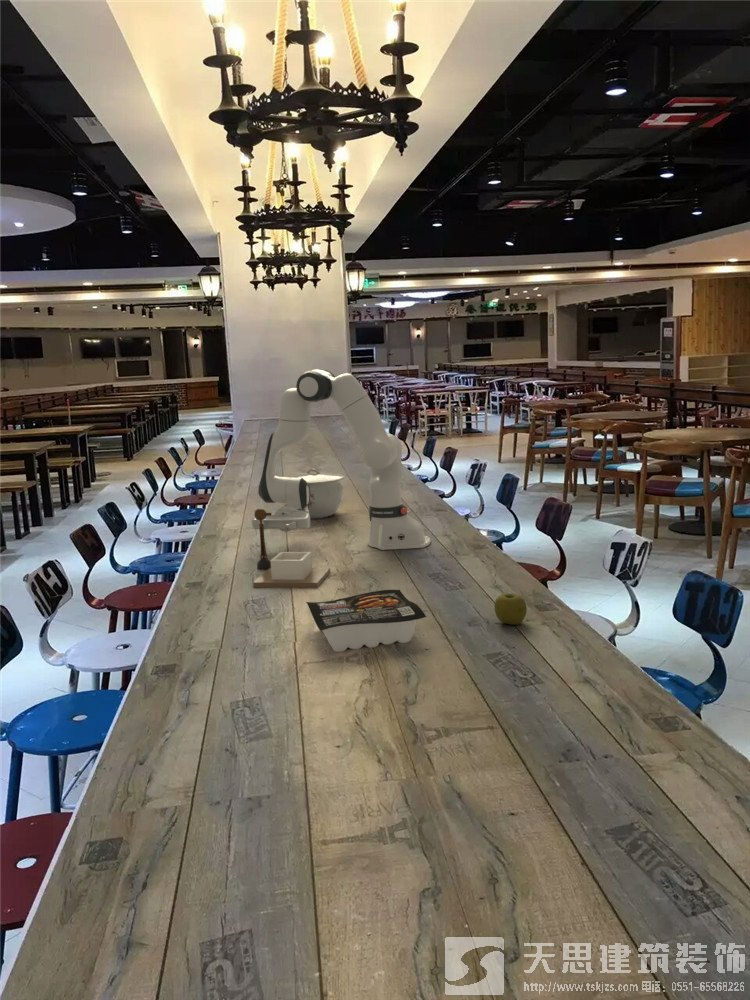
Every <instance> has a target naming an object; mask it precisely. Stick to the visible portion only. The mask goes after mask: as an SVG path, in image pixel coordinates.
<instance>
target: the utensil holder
mask: <svg viewBox="0 0 750 1000" xmlns="http://www.w3.org/2000/svg"><path fill="white" fill-rule="evenodd" d="M270 562H271V568H269V569H268V570H265V571H264V572H263V573H262V574H261V575H260V576H259V577H257V578H256V579H255V580H254V581H253V582H252V585H253V588H295V589H296V588H298V589H299V588H301V589H303V588H311V589H313V588H315V589H318V588H319V587H320V586H321V584H322V583H323V582H324V581H325V580H326V579H327V577H328V576H329V575H330V574H331V567H313V561H312V552H311V551H280V552H278V553H277V555H275V556H273V558H272V559H271V560H270Z"/></svg>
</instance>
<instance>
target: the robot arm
mask: <svg viewBox="0 0 750 1000" xmlns="http://www.w3.org/2000/svg"><path fill="white" fill-rule="evenodd" d="M329 399H330V400H332V401H334V403H335V404H336V406H337V407H338V409H339V410H340V412H341V414H342V415H343V417H344V419H345V421H346V423H347V424H348V425H349V427H350V429H351V431H352V433H353V435H354V436H355V439H356V443H357V445H358V448H359V449H360V451H361V454H362V456H363V457H362V458H363V460H364V462H365V464H366V465H367V466H369V467H370V477H369V483H368V484H369V486H368V487H369V490H368V491H369V503H370V504H369V506H368V515H369V522H370V529H369V536H368V542H367V545H368V546H369V547H371V548H377V549H379V550H380V551H381V550H382V551H386V550H407V549H408V550H409V549H423V548H426V547H428V546H429V545H430V544H431V538H430V537H429V536H427V535H425V532H424V527H423V526H422V524H421V523H420V522H419V521H417V520H416V519H414V518H413V517H412V516H410V515H408V506H407V504H406V505H404V504H403V503H402V497H401V494H402V493H401V477H402V476H401V475H402V474H401V473H402V450H403V447H402V443H401V440H400V439H399V438H398V437H397V436H396V435H394V434H391V433H387V431H386V428H385V427H384V423H383V422H382V419H381V415H380V413H379V411H378V409H377V408H376V406H375V405H374V403H373V402H372V400H371V398H370V396H369V395H368V393H367V391H366V390H365V389H364V387H363V386H362V384H361V383H360V381H358V379H357V378H356V376H354V375H352V374H351V373H342V374H339V375H338V376H335V375H334V373H332V372H331V371H329V370H327V369H316V368H315V369H311V370H307V371H304V372H303V373H301V374H300V375H299V377H298V379H297V381H296V386H295V387H291V388H288V389H285V390H284V391H283V393H282V395H281V399H280V404H279V405H280V406H279V415H278V417H279V418H278V425H277V429H275V431H273V432H272V433H271V434H270V436H269V439H268V442H267V446H266V452H265V457H264V462H263V468H262V473H261V477H260V481H259V485H258V492H257V493H258V496H259V498H260V499H262V500H263V502H264V503H267V504H278V503H279V504H280V503H281V504H284V505H283V506H281V507H280V508H278V509H277V510H276V511H275V512H274V514H273V515H272V514H271V516H266V518H265V519H263V520H262V523H264V524H263V527H264V530H279V531H281V532H286V533H287V532H290V531H294V530H295V531H296V530H306V529H309V528H310V527H311V519H310V514H309V510H308V504H309V502H310V487H309V485H308V483H307V482H306V481H305V480H304V479H303V478H296V477H287V476H278V475H276V470H277V464H278V460H279V454H280V452H282V450H283V449H286V448H289V447H292V446H295V445H298V444H299V443H302V442H303V441H304V440H305V439H307V437H308V435H309V434H310V431H311V429H310V428H311V410H312V409H311V408H312V405H314V403H317V402H318V403H319V402H322V401H325V400H329ZM259 523H260V520H257V519H256V518H255V517H254V518H252V519H251V527H252V529H253V530H260V529H259Z"/></svg>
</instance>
